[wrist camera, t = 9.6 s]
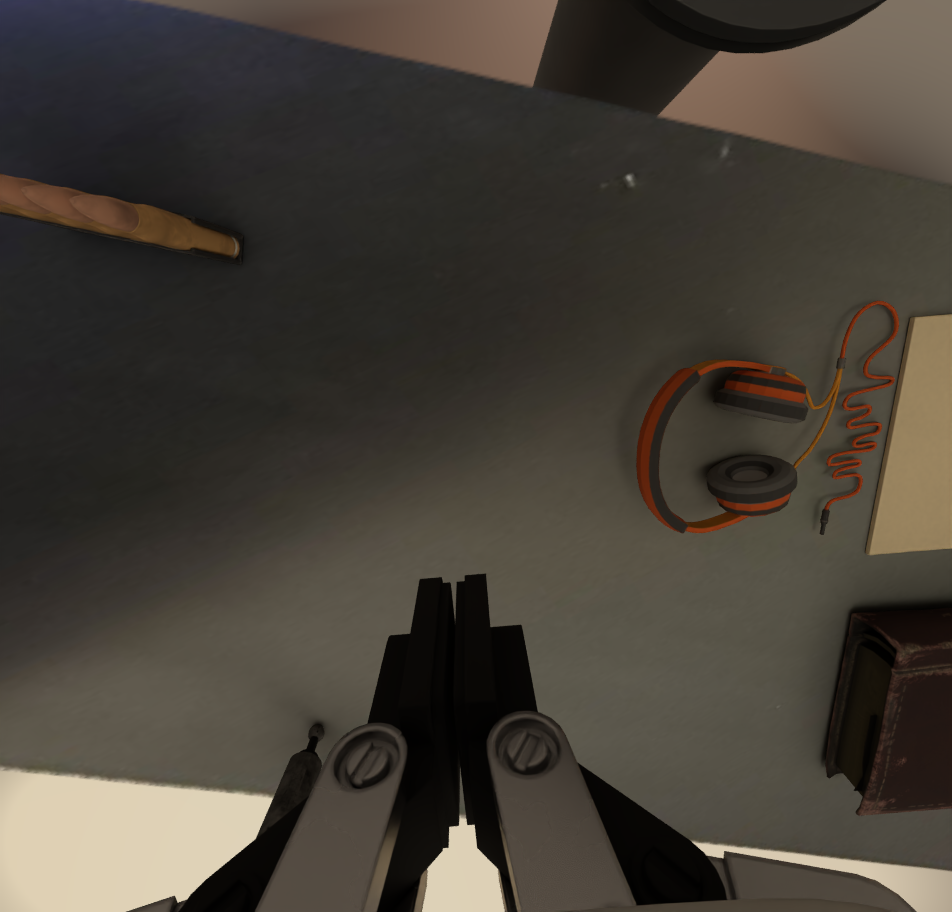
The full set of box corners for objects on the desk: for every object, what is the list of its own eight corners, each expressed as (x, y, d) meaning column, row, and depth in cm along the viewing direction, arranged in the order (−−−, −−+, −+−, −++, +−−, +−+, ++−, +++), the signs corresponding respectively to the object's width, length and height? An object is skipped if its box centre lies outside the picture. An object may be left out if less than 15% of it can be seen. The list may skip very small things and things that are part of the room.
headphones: (869, 299, 33) (621, 319, 29) (959, 296, 28) (677, 318, 24) (830, 512, 38) (615, 556, 34) (901, 540, 33) (660, 596, 29)
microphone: (272, 747, 41) (101, 1128, 22) (287, 687, 39) (116, 1047, 20) (347, 763, 42) (247, 1146, 22) (366, 706, 40) (275, 1069, 21)
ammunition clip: (244, 234, 29) (96, 179, 17) (242, 265, 29) (98, 232, 18) (64, 195, 28) (-217, 111, 16) (66, 228, 28) (-205, 169, 17)
